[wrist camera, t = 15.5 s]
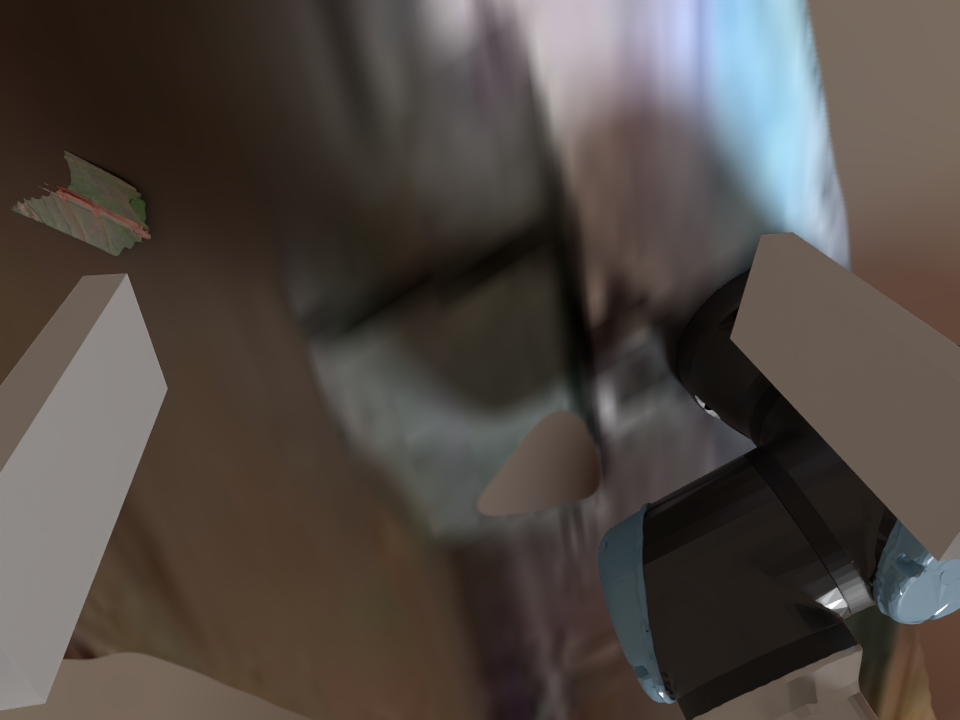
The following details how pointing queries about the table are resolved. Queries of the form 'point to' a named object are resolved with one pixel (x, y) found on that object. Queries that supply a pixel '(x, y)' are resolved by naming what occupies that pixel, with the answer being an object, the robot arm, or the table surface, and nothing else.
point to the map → (92, 208)
